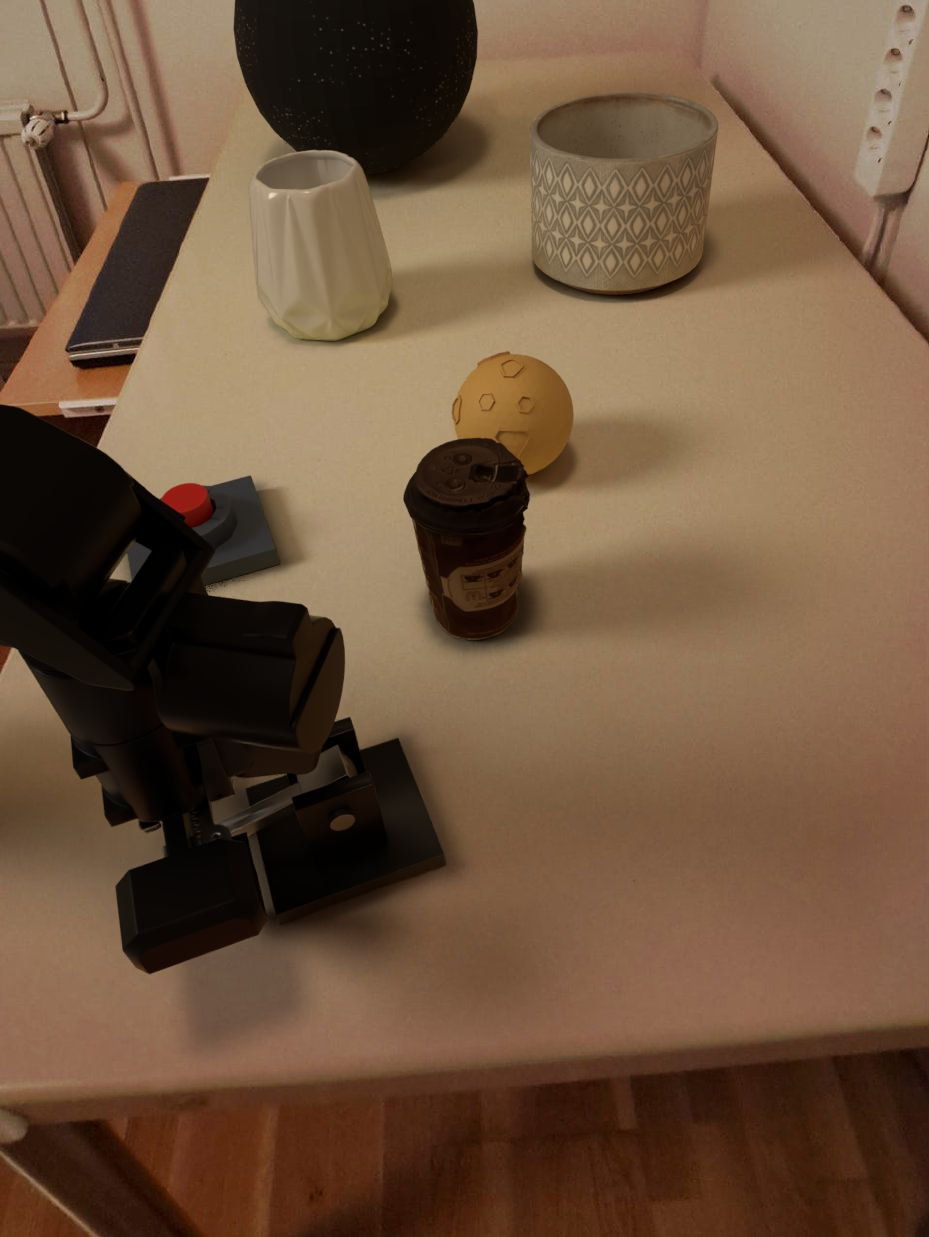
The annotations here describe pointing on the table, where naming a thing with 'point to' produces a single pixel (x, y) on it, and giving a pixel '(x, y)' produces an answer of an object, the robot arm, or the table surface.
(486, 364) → the stress ball
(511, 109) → the table surface
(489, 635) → the coffee cup
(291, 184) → the vase
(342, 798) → the lever bracket
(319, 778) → the switch lever
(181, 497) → the button
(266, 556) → the button block
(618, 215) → the planter
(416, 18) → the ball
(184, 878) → the robot arm
